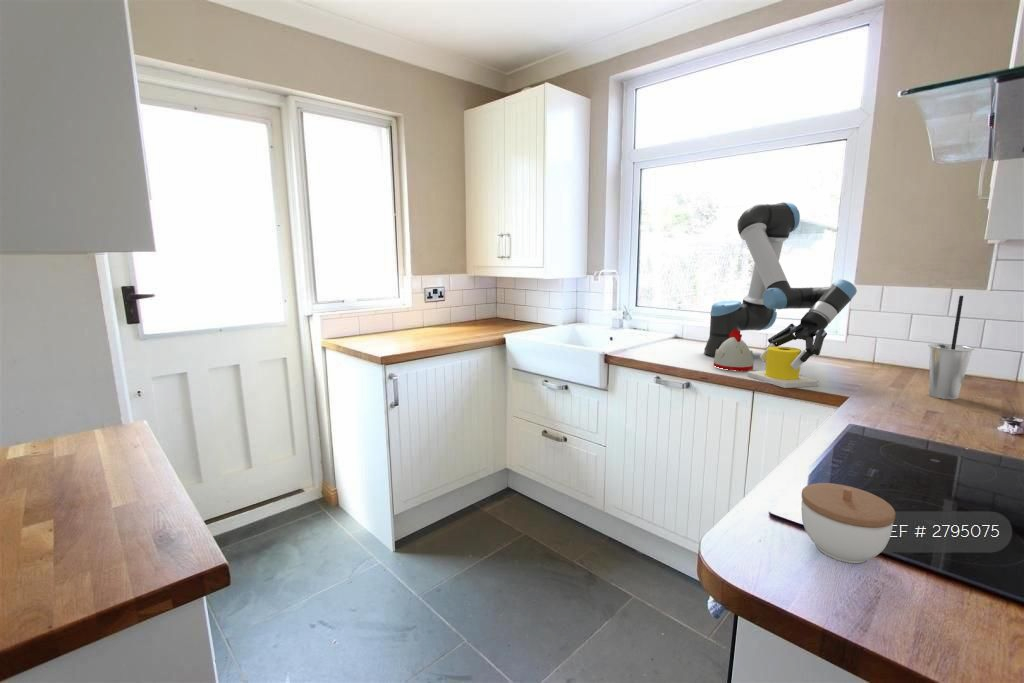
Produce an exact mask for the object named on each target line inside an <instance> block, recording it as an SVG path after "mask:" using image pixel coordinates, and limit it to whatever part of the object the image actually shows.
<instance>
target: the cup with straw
mask: <svg viewBox="0 0 1024 683" xmlns="http://www.w3.org/2000/svg"><path fill="white" fill-rule="evenodd" d="M963 301H964V295H959V296H958V303H957V310H956V314H955V315H956V316H955V321H954V329H953V335H952V342H951V344H947V343H946V344H945V343H931V344H930V343H929V344H928V345H927V346H928V347H929V365H928V366H929V367H928V368H929V369H928V370H929V372H928V375H929V383H928V384H929V386H928V388H929V389H928V390H929V391H928V396H930V397H932V396H934V397H933V398H935V397H937V398H936V399H939V398H942V400H946V399H951V400H950V401H953V400H955V399H956V400H958V399H959V398H958V397H959V395H960V391H961V388H962V385H963V381H964V378H965V375H966V372H967V368H968V364H969V361H970V359H971V355H972V352H973V351H975V348H974V347H970V346H964V345H958V344H957V340H958V339H957V338H958V332H959V327H960V320H961V314H962V308H963ZM956 400H955V401H956Z"/></svg>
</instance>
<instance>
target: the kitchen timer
mask: <svg viewBox="0 0 1024 683" xmlns="http://www.w3.org/2000/svg"><path fill="white" fill-rule="evenodd" d="M742 336H743V334H741V331H738V330H736V329H733V331H731V334H729V339H727V340H726V341H724V342H723V343H722V344H721V346H720V347H719V349H716V353H715V357H714V359H713V367H714V366H716V367H719V368H723V369H728V370H736V371H735V372H750V371H752V370H753V369H754V360H753V357H754V352H753V350H752V349H750V348H749V347H748V344H747V343H746V342H745V340H743V339H742ZM728 370H727V371H728ZM749 370H750V371H749Z"/></svg>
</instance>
